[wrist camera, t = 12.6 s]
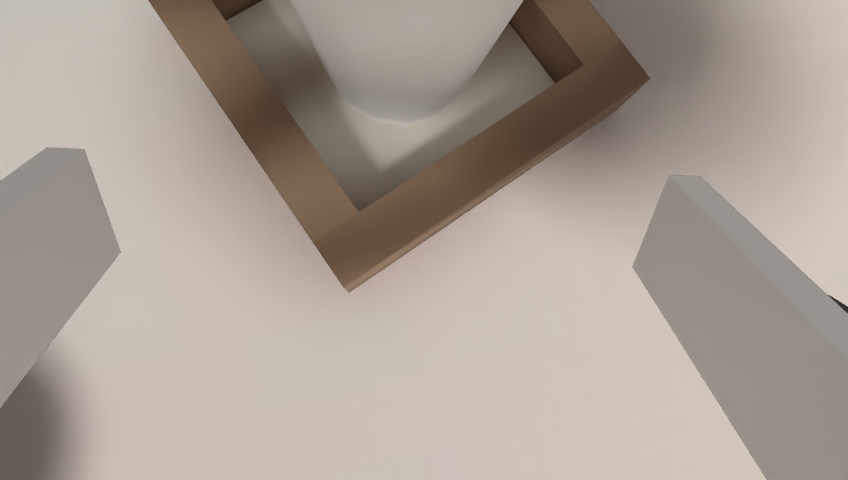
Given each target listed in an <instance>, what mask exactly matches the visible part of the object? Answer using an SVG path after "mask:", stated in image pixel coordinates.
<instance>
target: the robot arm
mask: <svg viewBox="0 0 848 480" xmlns="http://www.w3.org/2000/svg"><path fill="white" fill-rule="evenodd" d="M120 252H121V251H120V248H119V245H118V243H117V240H116V237H115V234H114V231H113V229H112V226H111V223H110V220H109V217H108V214H107V212H106V209H105V206H104V203H103V200H102V197H101V195H100V192H99V189H98V186H97V183H96V181H95V178H94V175H93V172H92V169H91V166H90V164H89V161H88V158H87V155H86V152H85V149H70V148H45V149H44V150H43V151H41V152H40V153H38V154H37V155H36V156H34V157H33V158H32V159H30V160H29V161H27V162H26V163H25V164H23V165H22V166H20V167H19V168H18V169H16V170H15V171H14V172H12V173H11V174H9V175H8V176H7V177H5V178H4V179H2V180H1V181H0V408H1V407H2V405H3V404H4V403H5V401H6V400H7V399H8V397H9V396H10V395H11V394H12V392H13V391H14V390H15V388H16V387H17V386H18V385H19V383H20V382H21V381H22V379H23V378H24V377H25V375H26V374H27V373H28V372H29V370H30V369H31V368H32V366H33V365H34V364H35V363H36V361H37V360H38V359H39V357H40V356H41V355H42V353H43V352H44V351H45V350H46V348H47V347H48V346H49V344H50V343H51V342H52V340H53V339H54V338H55V337H56V335H57V334H58V333H59V331H60V330H61V329H62V328H63V326H64V325H65V324H66V322H67V321H68V320H69V318H70V317H71V316H72V315H73V313H74V312H75V311H76V309H77V308H78V307H79V306H80V304H81V303H82V302H83V300H84V299H85V298H86V296H87V295H88V294H89V293H90V291H91V290H92V289H93V287H94V286H95V285H96V284H97V282H98V281H99V280H100V278H101V277H102V276H103V274H104V273H105V272H106V271H107V269H108V268H109V267H110V265H111V264H112V263H113V262H114V260H115V259H116V258H117V256H118V255H119V254H120ZM633 268H634V270H635V272H636V273H637V275H638V276H639V278H640V280H641V281H642V283H643V284H644V286H645V287H646V289H647V291H648V292H649V294H650V295H651V297H652V299H653V300H654V302H655V303H656V305H657V306H658V308H659V310H660V311H661V313H662V314H663V316H664V318H665V319H666V321H667V322H668V324H669V325H670V327H671V329H672V330H673V332H674V333H675V335H676V337H677V338H678V340H679V341H680V343H681V345H682V346H683V348H684V349H685V351H686V352H687V354H688V356H689V357H690V359H691V360H692V362H693V364H694V365H695V367H696V368H697V370H698V371H699V373H700V375H701V376H702V378H703V379H704V381H705V383H706V384H707V386H708V387H709V389H710V391H711V392H712V394H713V395H714V397H715V398H716V400H717V402H718V403H719V405H720V406H721V408H722V410H723V411H724V413H725V414H726V416H727V417H728V419H729V421H730V422H731V424H732V425H733V427H734V429H735V430H736V432H737V433H738V435H739V436H740V438H741V440H742V441H743V443H744V444H745V446H746V448H747V449H748V451H749V452H750V454H751V456H752V457H753V459H754V460H755V462H756V463H757V465H758V467H759V468H760V470H761V471H762V473H763V475H764V476H765V478H766V479H767V480H848V307H847V306H846V305H844V304H842V303H841V302H839V301H838V300H836V299H834V298H833V297H831V296H830V295H827V294H826V293H825V292H824V291H823V290H822V289H821V288H820V287H819V286H817V285H816V284H815V283H814V282H813V281H812V280H811V279H810V278H809V277H808V276H807V275H806V274H805V273H804V272H802V271H801V270H800V269H799V268H798V267H797V266H796V265H795V264H794V263H793V262H792V261H791V260H790V259H788V258H787V257H786V256H785V255H784V254H783V253H782V252H781V251H780V250H779V249H778V248H777V247H776V246H775V245H773V244H772V243H771V242H770V241H769V240H768V239H767V238H766V237H765V236H764V235H763V234H762V233H761V232H760V231H758V230H757V229H756V228H755V227H754V226H753V225H752V224H751V223H750V222H749V221H748V220H747V219H746V218H745V217H743V216H742V215H741V214H740V213H739V212H738V211H737V210H736V209H735V208H734V207H733V206H732V205H731V204H729V203H728V202H727V201H726V200H725V199H724V198H723V197H722V196H721V195H720V194H719V193H718V192H717V191H716V190H714V189H713V188H712V187H711V186H710V185H709V184H708V183H707V182H706V181H705V180H704V179H703V178H702V177H701V176H683V175H669V177H668V179H667V182H666V184H665V187H664V189H663V192H662V194H661V197H660V199H659V202H658V204H657V207H656V209H655V212H654V214H653V217H652V219H651V222H650V224H649V227H648V229H647V232H646V234H645V237H644V239H643V242H642V244H641V247H640V249H639V252H638V254H637V257H636V259H635V262H634V264H633Z"/></svg>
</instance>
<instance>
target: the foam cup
mask: <svg viewBox="0 0 848 480" xmlns="http://www.w3.org/2000/svg"><path fill="white" fill-rule="evenodd" d="M290 1H291V3H292V5H293V7H294V9H295V11H296V13H297V14H298V16H299V18H300V20H301V22H302V24H303V26H304V28H305V30H306V32H307V34H308V36H309V38H310V40H311V42H312V44H313V46H314V48H315V50H316V52H317V54H318V56H319V58H320V60H321V62H322V64H323V66H324V68H325V70H326V72H327V73H328V75H329V77H330V79H331V81H332V82H333V84H334V85H335V87H336V89H337V90H338V92H339V93H340V95H341V97H342V98H343V100H344V101H345V103H346V104H347V105H348V106H350V107H352V108H353V109H355V110H356V111H358V112H359V113H361V114H362V115H364V116H366V117H367V118H369V119H370V120H372V121H374V122H381V123H387V124H394V125H401V126H408V125H411V124H415V123H418V122H422V121H425V120H428V119H432V118H435V117H437V116H438V115H439V114H440V113H441V112H442V111H443V110H445V109H446V108H447V107H448V106H449V105H450V104H451V103H452V102H453V101H455V100H456V99H457V98H458V97H459V94H460V93H461V92H463V90H464V89H465V87H466V86H467V84H468V83H469V81H470V80H471V78H472V77H473V75H474V74H475V72H476V71H477V69H478V68H479V66H480V65H481V63H482V62H483V60H484V59H485V57H486V56H487V54H488V53H489V51H490V50H491V48H492V47H493V45H494V44H495V42H496V41H497V39H498V38H499V36H500V35H501V33H502V32H503V30H504V29H505V27H506V26H507V24H508V23H509V21H510V20H511V18H512V17H513V15H514V14H515V12H516V11H517V9H518V8H519V6H520V5H521V3H522V2H523V0H290Z"/></svg>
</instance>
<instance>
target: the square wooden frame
mask: <svg viewBox="0 0 848 480" xmlns="http://www.w3.org/2000/svg"><path fill="white" fill-rule="evenodd" d="M149 2H150V3H151V5H152V6H153V8H154V9H155V11H156V12H157V14H158V15H159V17H160V18H161V19H162V21H163V22H164V24H165V25H166V27H167V28H168V30H169V31H170V33H171V34H172V36H173V37H174V39H175V40H176V42H177V43H178V44H179V46H180V47H181V49H182V50H183V52H184V53H185V55H186V56H187V58H188V59H189V61H190V62H191V64H192V65H193V67H194V68H195V69H196V71H197V72H198V74H199V75H200V77H201V78H202V80H203V81H204V83H205V84H206V86H207V87H208V89H209V90H210V92H211V93H212V95H213V96H214V97H215V99H216V100H217V102H218V103H219V105H220V106H221V108H222V109H223V111H224V112H225V114H226V115H227V117H228V118H229V120H230V121H231V122H232V124H233V125H234V127H235V128H236V130H237V131H238V133H239V134H240V136H241V137H242V139H243V140H244V142H245V143H246V145H247V146H248V147H249V149H250V150H251V152H252V153H253V155H254V156H255V158H256V159H257V161H258V162H259V164H260V165H261V167H262V168H263V170H264V171H265V172H266V174H267V175H268V177H269V178H270V180H271V181H272V183H273V184H274V186H275V187H276V189H277V190H278V192H279V193H280V195H281V196H282V197H283V199H284V200H285V202H286V203H287V205H288V206H289V208H290V209H291V211H292V212H293V214H294V215H295V217H296V218H297V220H298V221H299V222H300V224H301V225H302V227H303V228H304V230H305V231H306V233H307V234H308V236H309V237H310V239H311V240H312V242H313V243H314V245H315V246H316V247H317V249H318V250H319V252H320V253H321V255H322V256H323V258H324V259H325V261H326V262H327V264H328V265H329V267H330V268H331V270H332V271H333V273H334V274H335V275H336V277H337V278H338V280H339V281H340V283H341V284H342V286H343V287H344V288H345V289H346V290H347V291H348V292H351V291H352V290H354V289H355V288H356V287H358V286H359V285H361V284H362V283H364V282H365V281H367V280H368V279H370V278H371V277H373V276H374V275H376V274H377V273H378V272H380V271H381V270H383V269H384V268H386V267H387V266H389V265H390V264H392V263H393V262H395V261H396V260H397V259H399V258H400V257H402V256H403V255H405V254H406V253H408V252H409V251H411V250H412V249H414V248H415V247H416V246H418V245H419V244H421V243H422V242H424V241H425V240H427V239H428V238H430V237H431V236H433V235H434V234H435V233H437V232H438V231H440V230H441V229H443V228H444V227H446V226H447V225H449V224H450V223H452V222H453V221H454V220H456V219H457V218H459V217H460V216H462V215H463V214H465V213H466V212H468V211H469V210H471V209H472V208H474V207H475V206H476V205H478V204H479V203H481V202H482V201H484V200H485V199H487V198H488V197H490V196H491V195H493V194H494V193H495V192H497V191H498V190H500V189H501V188H503V187H504V186H506V185H507V184H509V183H510V182H512V181H513V180H514V179H516V178H517V177H519V176H520V175H522V174H523V173H525V172H526V171H528V170H529V169H531V168H532V167H533V166H535V165H536V164H538V163H539V162H541V161H542V160H544V159H545V158H547V157H548V156H550V155H551V154H552V153H554V152H555V151H557V150H558V149H560V148H561V147H563V146H564V145H566V144H567V143H569V142H570V141H572V140H573V139H574V138H576V137H577V136H579V135H580V134H582V133H583V132H585V131H586V130H588V129H589V128H591V127H592V126H593V125H595V124H596V123H598V122H599V121H601V120H602V119H604V118H605V117H607V116H608V115H610V114H611V113H612V112H614V111H615V110H617V109H618V108H619V107H620V106H621V105H622V104H623V103H624V102H625V101H626V100H628V99H629V98H630V97H631V96H632V95H633V94H634V93H635V92H636V91H637V90H638V89H640V88H641V87H642V86H643V85H644V84H645V83H646V82H647V81H648V80H649V79H650V77H649V76H648V75H647V74H646V72H645V71H644V70H643V69H642V67H641V66H640V65H639V64H638V62H637V61H636V60H635V58H634V57H633V56H632V55H631V53H630V52H629V51H628V50H627V48H626V47H625V46H624V44H623V43H622V42H621V41H620V39H619V38H618V37H617V36H616V34H615V33H614V32H613V30H612V29H611V28H610V27H609V25H608V24H607V23H606V22H605V20H604V19H603V18H602V17H601V15H600V14H599V13H598V11H597V10H596V9H595V8H594V6H593V5H592V4H591V3H590V1H589V0H523V2H522V3H521V5H520V6H519V8H518V9H517V11H516V12H515V14H514V15H513V17H512V18H511V20H510V21H509V23H508V24H507V26H506V27H505V29H504V30H503V32H502V33H501V35H500V36H499V38H498V39H497V41H496V42H495V44H494V45H493V47H492V48H491V50H490V51H489V53H488V54H487V56H486V57H485V59H484V60H483V62H482V63H481V65H480V66H479V68H478V69H477V71H476V72H475V74H474V75H473V77H472V78H471V80H470V81H469V83H468V84H467V86H466V87H465V89H464V90H463V92H461V93H460V94H459V97H458V98H457V99H456V100H455V101H453V102H452V103H451V104H450V105H449V106H448V107H447V108H446V109H445V110H443V111H442V112H441V113H440V114H439V115H438V116H437V117H435V118H432V119H428V120H425V121H422V122H418V123H415V124H411V125H408V126H401V125H394V124H387V123H381V122H374V121H372V120H370V119H369V118H367V117H366V116H364V115H362V114H361V113H359V112H358V111H356V110H355V109H353V108H352V107H350V106H348V105H347V104H346V103H345V101H344V100H343V98H342V97H341V95H340V93H339V92H338V90H337V89H336V87H335V85H334V84H333V82H332V81H331V79H330V77H329V75H328V73H327V72H326V70H325V68H324V66H323V64H322V62H321V60H320V58H319V56H318V54H317V52H316V50H315V48H314V46H313V44H312V42H311V40H310V38H309V36H308V34H307V32H306V30H305V28H304V26H303V24H302V22H301V20H300V18H299V16H298V14H297V13H296V11H295V9H294V7H293V5H292V3H291V1H290V0H149Z"/></svg>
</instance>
